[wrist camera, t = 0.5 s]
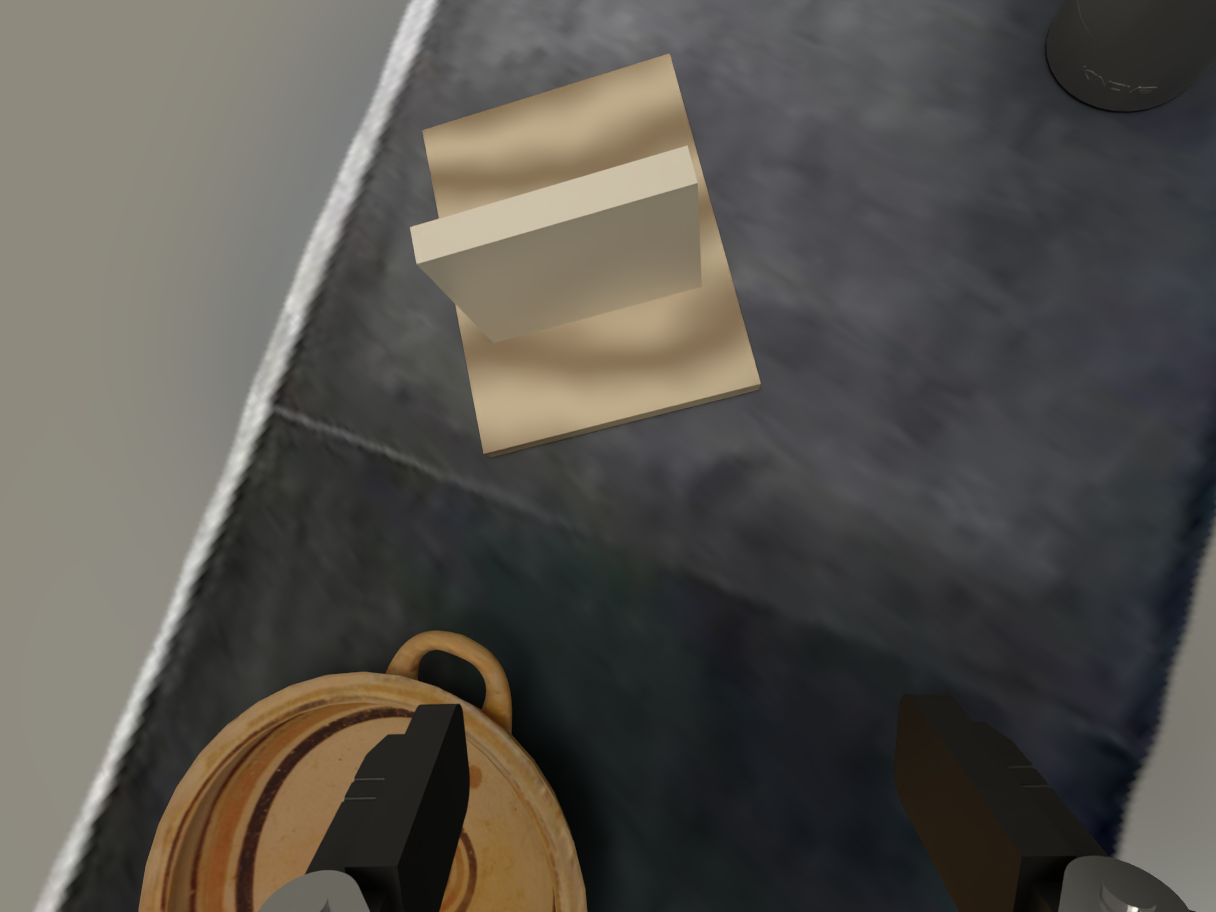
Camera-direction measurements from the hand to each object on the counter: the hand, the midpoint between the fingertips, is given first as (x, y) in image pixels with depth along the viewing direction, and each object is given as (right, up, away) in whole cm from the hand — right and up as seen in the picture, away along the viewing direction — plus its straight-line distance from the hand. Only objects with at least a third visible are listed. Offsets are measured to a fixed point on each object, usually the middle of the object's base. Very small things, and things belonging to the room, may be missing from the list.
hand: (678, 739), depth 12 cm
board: (-3, +19, +34) cm, 39 cm away
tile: (-2, +15, +32) cm, 35 cm away
